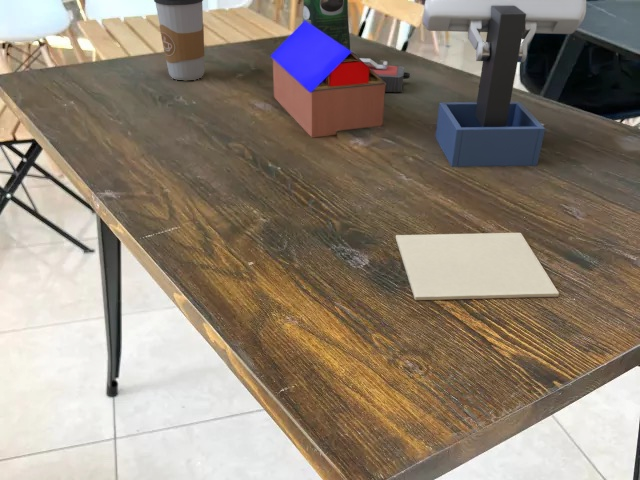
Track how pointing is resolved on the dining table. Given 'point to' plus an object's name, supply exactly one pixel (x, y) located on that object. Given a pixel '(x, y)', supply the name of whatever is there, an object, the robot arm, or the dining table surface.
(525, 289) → the mat
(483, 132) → the box
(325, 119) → the house
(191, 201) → the dining table surface
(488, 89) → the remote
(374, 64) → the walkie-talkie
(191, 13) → the coffee cup
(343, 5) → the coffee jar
